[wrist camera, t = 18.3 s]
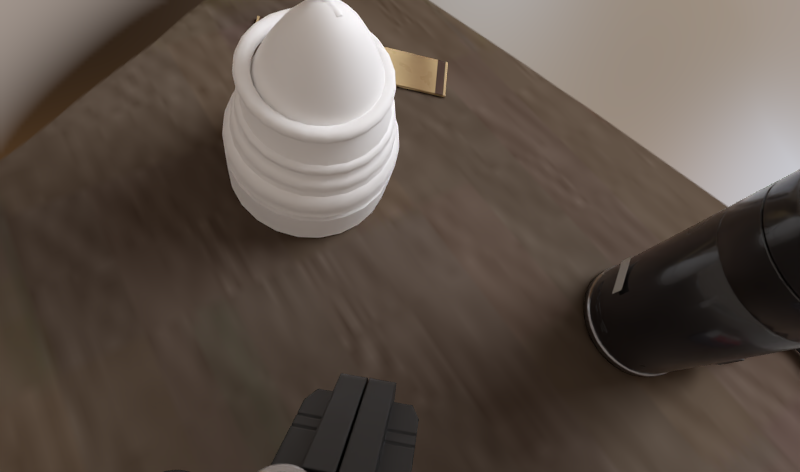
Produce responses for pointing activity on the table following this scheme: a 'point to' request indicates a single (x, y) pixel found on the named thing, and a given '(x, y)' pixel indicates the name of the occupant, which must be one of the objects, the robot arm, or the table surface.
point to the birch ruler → (416, 71)
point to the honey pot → (311, 120)
